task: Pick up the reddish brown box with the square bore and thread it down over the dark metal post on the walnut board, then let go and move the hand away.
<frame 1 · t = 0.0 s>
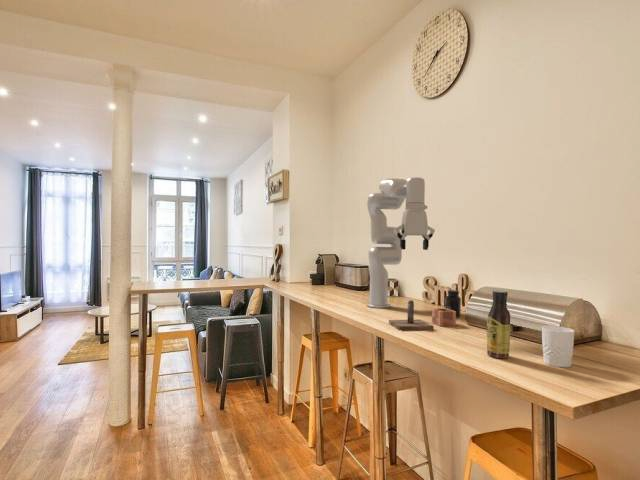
hand: (414, 249, 151), 31 cm above the breakfast bar, tool pointing down, fingers open, 9 cm apart
supplement bottle: (452, 316, 172), on the breakfast bar
post board: (410, 326, 149), on the breakfast bar
sauce bottle: (498, 357, 111), on the breakfast bar
white cup: (557, 364, 105), on the breakfast bar
reddish brown box: (443, 324, 154), on the breakfast bar
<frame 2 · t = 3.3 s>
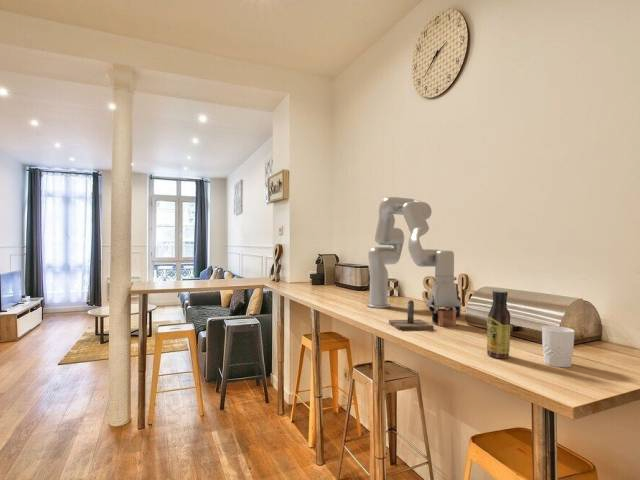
hand: (443, 321, 154), 1 cm above the breakfast bar, tool pointing down, fingers closed on reddish brown box, 7 cm apart
reddish brown box: (443, 324, 154), on the breakfast bar, touching gripper
everything else where it was.
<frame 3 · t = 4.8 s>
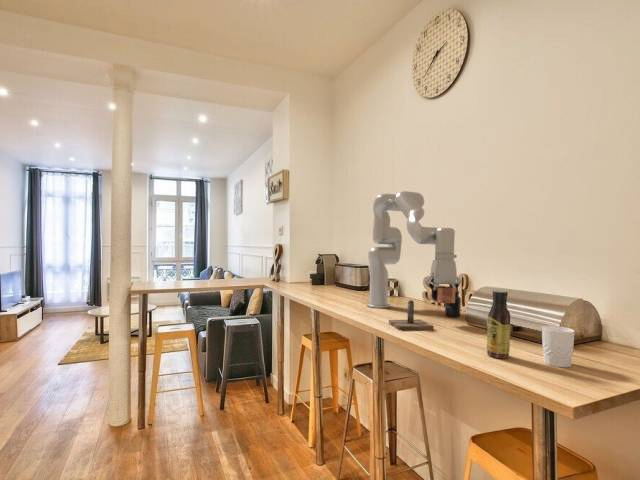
hand: (442, 298, 155), 11 cm above the breakfast bar, tool pointing down, fingers closed on reddish brown box, 7 cm apart
reddish brown box: (442, 301, 155), point 9 cm above the breakfast bar, touching gripper
everything else where it was.
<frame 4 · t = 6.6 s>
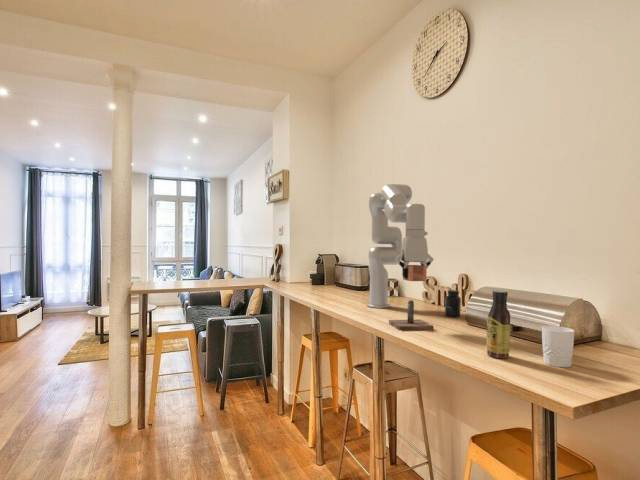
hand: (414, 277, 149), 20 cm above the breakfast bar, tool pointing down, fingers closed on reddish brown box, 7 cm apart
reddish brown box: (414, 280, 149), point 19 cm above the breakfast bar, touching gripper
everything else where it was.
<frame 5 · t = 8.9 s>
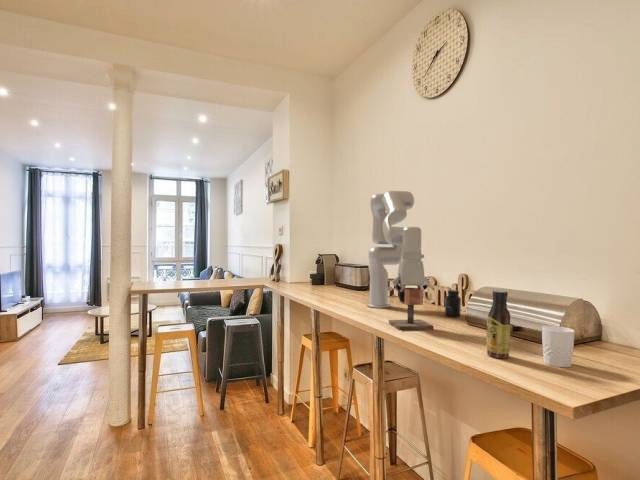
hand: (410, 301, 149), 10 cm above the breakfast bar, tool pointing down, fingers closed on reddish brown box, 7 cm apart
reddish brown box: (411, 303, 149), point 9 cm above the breakfast bar, touching gripper
everything else where it was.
when the fingers open (7 cm above the breakfast bar, at t = 10.4 s): reddish brown box drops 4 cm, resting on post board.
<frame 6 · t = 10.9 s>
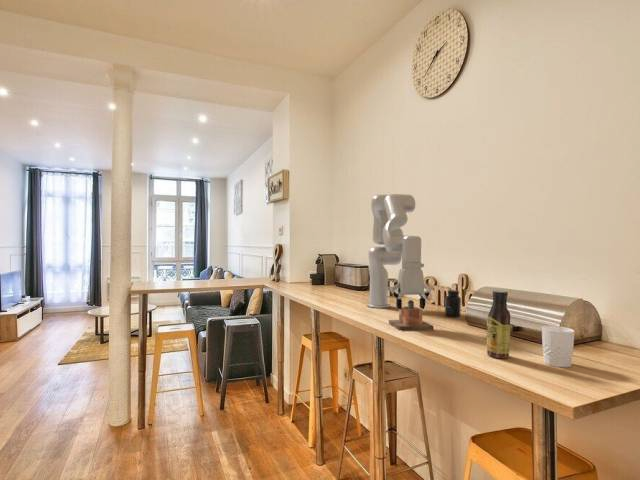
hand: (410, 308, 149), 7 cm above the breakfast bar, tool pointing down, fingers open, 9 cm apart
reddish brown box: (410, 322, 149), point 1 cm above the breakfast bar, touching post board
everything else where it was.
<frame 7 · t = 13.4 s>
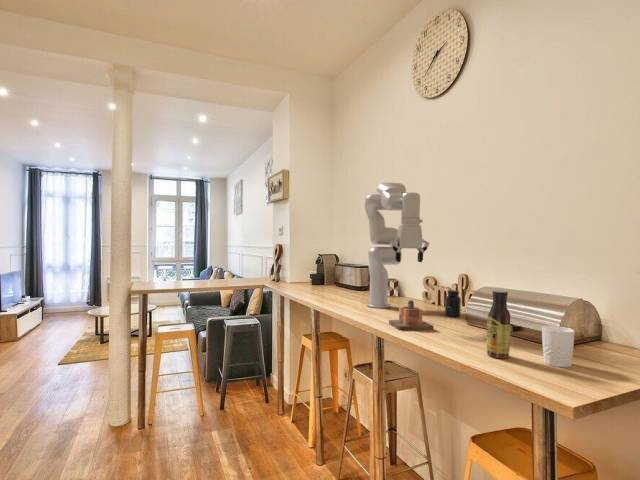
hand: (409, 261, 157), 26 cm above the breakfast bar, tool pointing down, fingers open, 9 cm apart
nothing on the breakfast bar moved.
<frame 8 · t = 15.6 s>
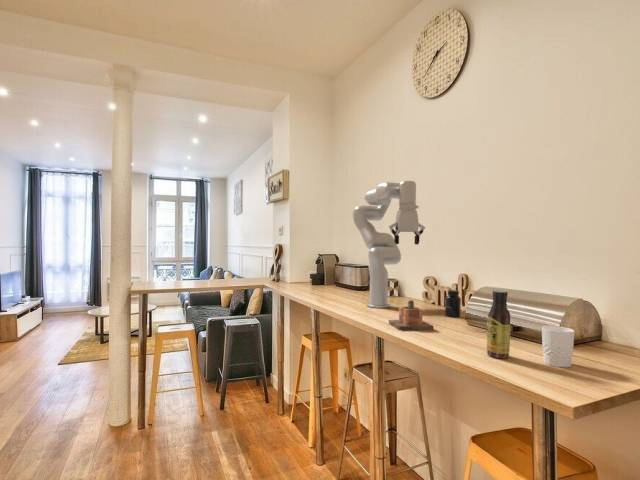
hand: (406, 244, 172), 33 cm above the breakfast bar, tool pointing down, fingers open, 9 cm apart
nothing on the breakfast bar moved.
at the end: reddish brown box 0.0 cm off-centre on the post board, point 1.5 cm above the post board's base; reddish brown box tilted 0°; the gripper is holding nothing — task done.
